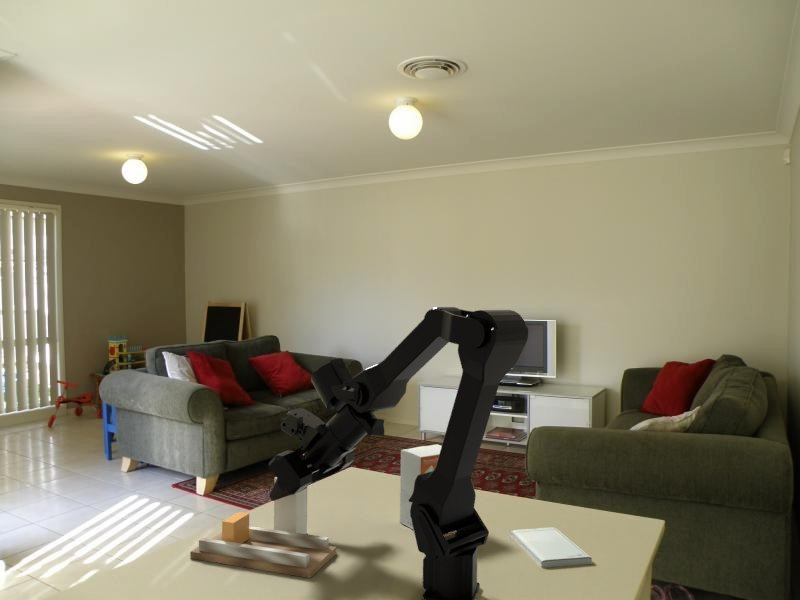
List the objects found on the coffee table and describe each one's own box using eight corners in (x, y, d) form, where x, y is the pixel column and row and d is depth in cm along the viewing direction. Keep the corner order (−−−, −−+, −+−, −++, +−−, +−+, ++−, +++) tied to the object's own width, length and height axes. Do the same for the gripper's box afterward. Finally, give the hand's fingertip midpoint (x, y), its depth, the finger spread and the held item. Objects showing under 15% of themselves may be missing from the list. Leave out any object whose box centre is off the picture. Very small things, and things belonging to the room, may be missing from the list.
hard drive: (592, 556, 95) (555, 526, 107) (541, 560, 93) (510, 529, 105) (592, 567, 95) (555, 535, 107) (541, 571, 93) (510, 539, 105)
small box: (419, 534, 106) (420, 456, 105) (398, 522, 111) (399, 448, 111) (457, 525, 110) (458, 450, 110) (435, 514, 115) (436, 443, 115)
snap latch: (249, 538, 100) (249, 513, 99) (233, 549, 95) (233, 522, 95) (238, 537, 100) (238, 511, 100) (222, 547, 96) (222, 521, 96)
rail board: (336, 553, 97) (336, 536, 97) (310, 578, 89) (310, 559, 89) (224, 536, 104) (224, 520, 104) (190, 558, 95) (190, 541, 95)
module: (306, 533, 106) (307, 473, 105) (295, 541, 102) (296, 480, 102) (285, 530, 107) (286, 471, 107) (273, 538, 103) (274, 477, 103)
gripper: (339, 386, 111) (286, 442, 116) (279, 402, 94) (219, 467, 98) (379, 435, 108) (323, 491, 112) (325, 461, 91) (261, 525, 95)
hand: (283, 492), depth 105 cm, fingers open, 7 cm apart
